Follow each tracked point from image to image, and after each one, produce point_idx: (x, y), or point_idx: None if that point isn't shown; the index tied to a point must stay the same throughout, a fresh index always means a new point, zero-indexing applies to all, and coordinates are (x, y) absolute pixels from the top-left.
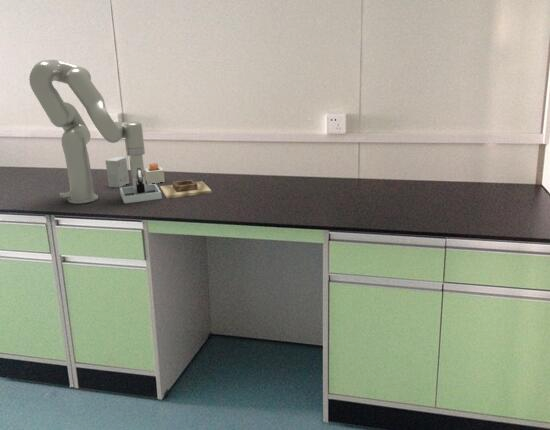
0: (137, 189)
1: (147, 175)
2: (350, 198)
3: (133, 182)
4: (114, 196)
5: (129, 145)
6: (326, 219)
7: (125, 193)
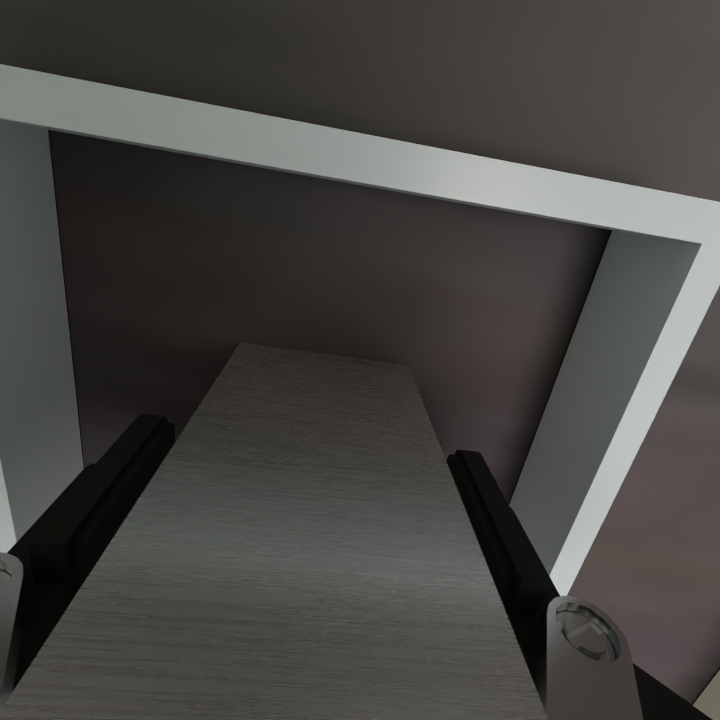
0: (103, 458)
1: None
2: None
3: (242, 528)
4: (604, 58)
5: None
6: None
7: (598, 280)
